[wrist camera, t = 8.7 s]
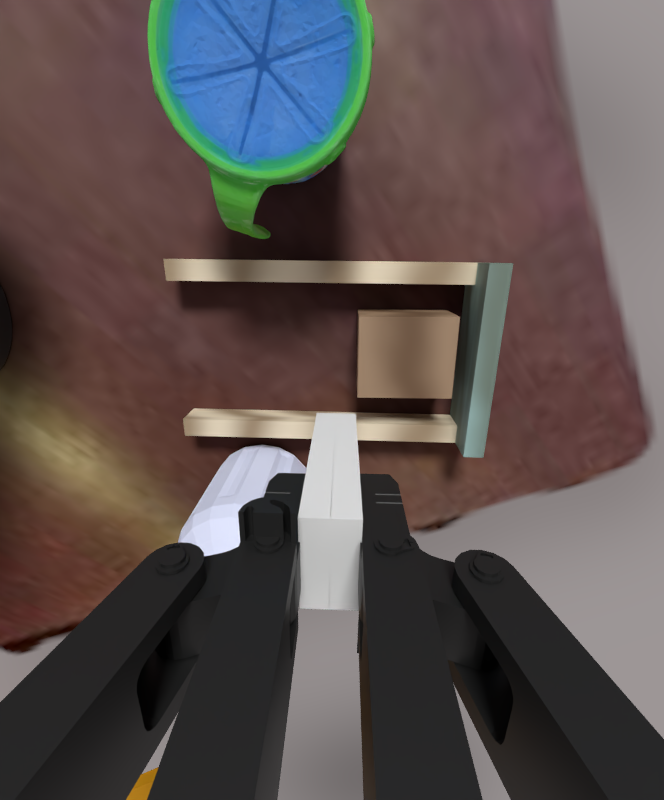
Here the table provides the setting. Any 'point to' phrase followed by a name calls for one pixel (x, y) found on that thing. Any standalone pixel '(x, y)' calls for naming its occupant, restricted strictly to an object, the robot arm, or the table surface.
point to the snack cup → (260, 89)
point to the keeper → (406, 353)
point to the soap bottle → (227, 518)
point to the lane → (460, 427)
